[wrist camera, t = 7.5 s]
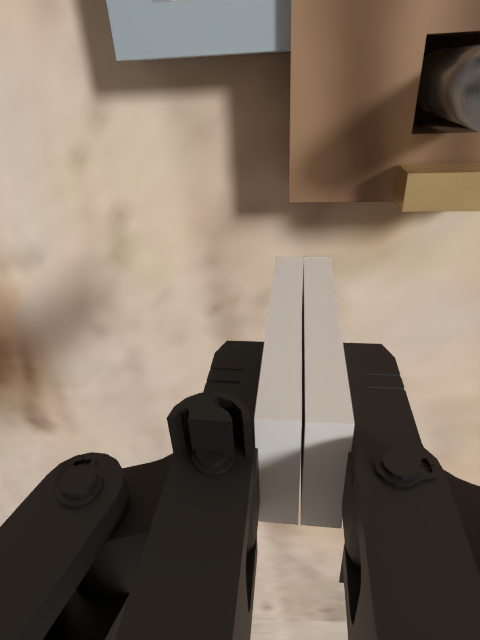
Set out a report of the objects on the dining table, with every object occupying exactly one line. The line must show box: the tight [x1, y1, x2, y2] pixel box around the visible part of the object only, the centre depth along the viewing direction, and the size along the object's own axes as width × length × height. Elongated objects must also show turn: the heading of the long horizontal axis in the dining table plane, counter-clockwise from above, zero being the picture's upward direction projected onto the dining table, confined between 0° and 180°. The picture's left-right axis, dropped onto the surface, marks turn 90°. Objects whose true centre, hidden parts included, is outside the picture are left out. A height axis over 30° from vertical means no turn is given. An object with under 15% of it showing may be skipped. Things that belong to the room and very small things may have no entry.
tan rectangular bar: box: [394, 162, 480, 212], centre depth 23 cm, size 7×2×2 cm, turn 93°
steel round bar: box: [416, 45, 480, 132], centre depth 20 cm, size 3×3×13 cm
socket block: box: [289, 0, 480, 203], centre depth 24 cm, size 14×12×5 cm
